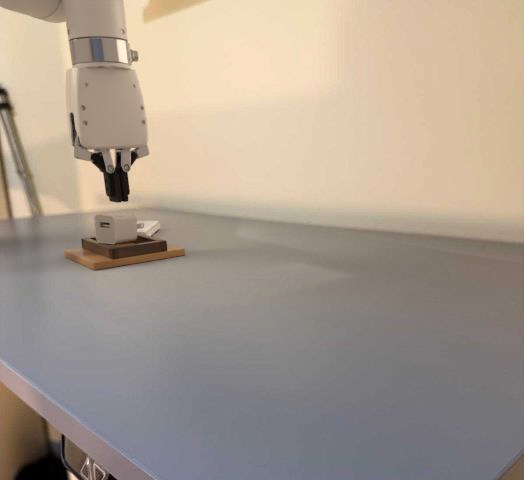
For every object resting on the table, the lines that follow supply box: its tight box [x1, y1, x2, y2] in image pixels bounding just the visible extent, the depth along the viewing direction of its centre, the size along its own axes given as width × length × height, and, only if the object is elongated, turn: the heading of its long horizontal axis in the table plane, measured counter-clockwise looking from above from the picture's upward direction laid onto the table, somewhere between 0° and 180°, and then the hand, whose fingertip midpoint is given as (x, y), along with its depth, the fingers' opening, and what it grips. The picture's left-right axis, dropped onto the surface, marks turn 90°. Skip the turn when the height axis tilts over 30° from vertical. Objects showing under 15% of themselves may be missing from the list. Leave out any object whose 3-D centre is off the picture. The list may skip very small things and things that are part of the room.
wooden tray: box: [63, 233, 186, 271], centre depth 80 cm, size 12×14×2 cm
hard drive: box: [136, 220, 161, 237], centre depth 98 cm, size 2×8×12 cm
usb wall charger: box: [93, 211, 144, 244], centre depth 79 cm, size 4×7×4 cm, turn 149°
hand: (118, 201), depth 78 cm, fingers closed
